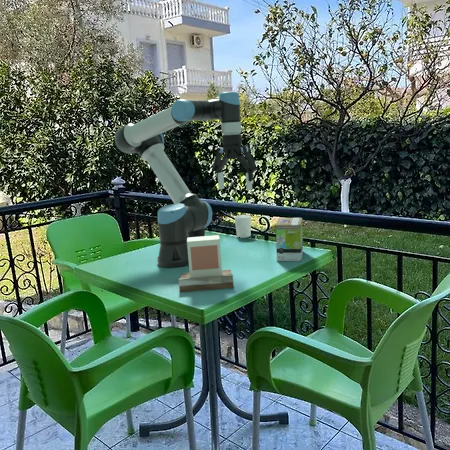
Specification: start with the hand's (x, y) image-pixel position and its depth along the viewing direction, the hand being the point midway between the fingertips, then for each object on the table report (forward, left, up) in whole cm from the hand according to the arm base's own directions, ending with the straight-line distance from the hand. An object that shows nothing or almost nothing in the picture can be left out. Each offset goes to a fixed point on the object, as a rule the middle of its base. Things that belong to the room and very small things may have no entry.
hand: (235, 189), depth 174 cm
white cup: (-22, +34, -29) cm, 50 cm away
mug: (-33, +12, -29) cm, 45 cm away
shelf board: (+6, -28, -29) cm, 41 cm away
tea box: (+16, +13, -29) cm, 36 cm away
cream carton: (+6, -28, -27) cm, 39 cm away
